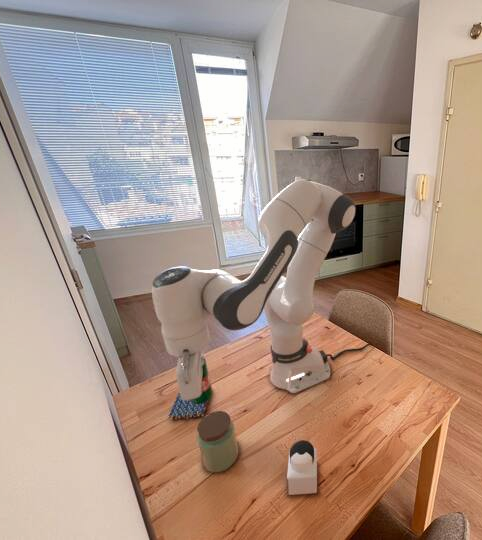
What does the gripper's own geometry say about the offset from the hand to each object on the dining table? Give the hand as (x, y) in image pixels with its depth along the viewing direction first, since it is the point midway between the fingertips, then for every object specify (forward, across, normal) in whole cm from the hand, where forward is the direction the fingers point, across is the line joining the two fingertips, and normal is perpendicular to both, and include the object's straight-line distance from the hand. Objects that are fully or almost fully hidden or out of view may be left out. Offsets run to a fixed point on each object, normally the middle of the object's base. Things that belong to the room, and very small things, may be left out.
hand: (199, 383), depth 71 cm
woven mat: (+27, +20, +8) cm, 34 cm away
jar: (+27, -1, -1) cm, 27 cm away
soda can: (+5, 0, 0) cm, 5 cm away
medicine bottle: (+27, -15, -21) cm, 37 cm away
